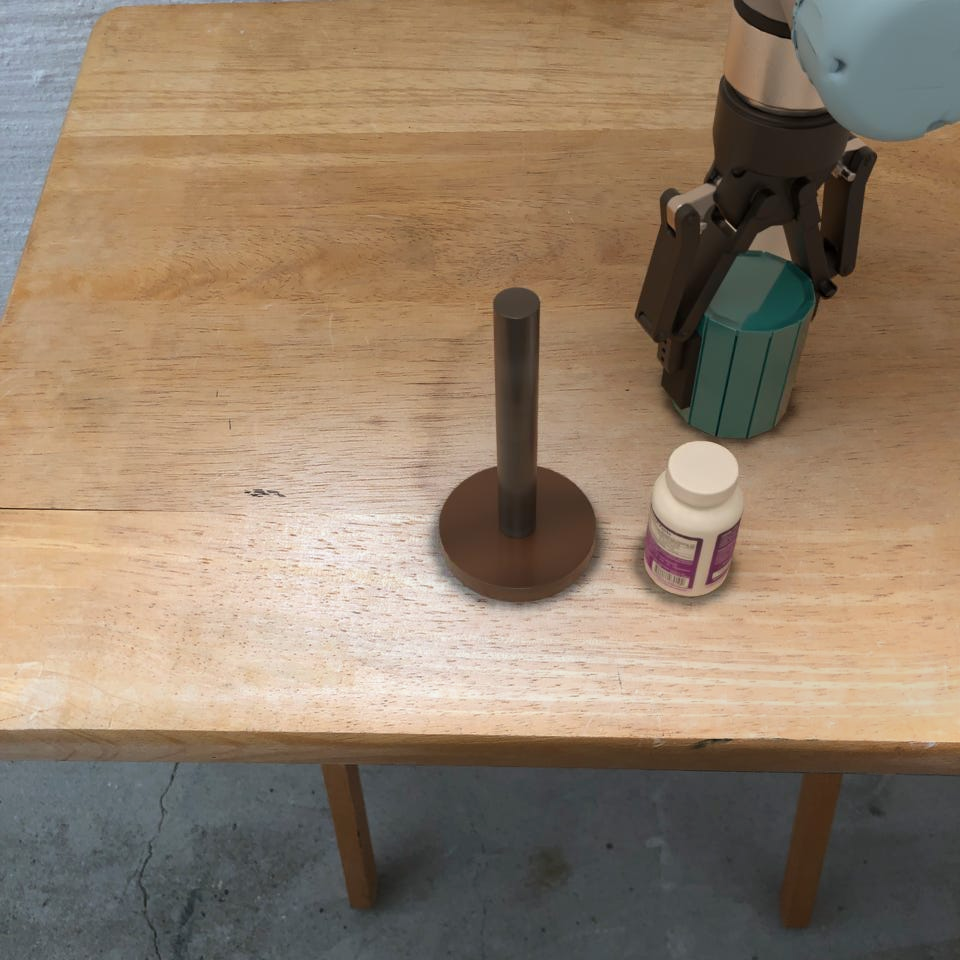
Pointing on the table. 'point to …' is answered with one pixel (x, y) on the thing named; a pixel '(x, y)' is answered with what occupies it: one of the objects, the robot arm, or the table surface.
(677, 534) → the pill bottle
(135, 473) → the table surface
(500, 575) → the towel holder
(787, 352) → the teal fluted cylinder
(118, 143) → the table surface
